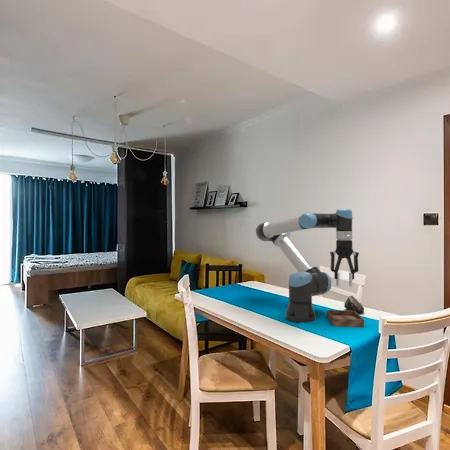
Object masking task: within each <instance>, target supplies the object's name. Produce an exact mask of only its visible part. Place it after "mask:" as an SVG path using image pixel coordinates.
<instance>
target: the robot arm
mask: <svg viewBox="0 0 450 450" xmlns="http://www.w3.org/2000/svg"><path fill="white" fill-rule="evenodd" d="M353 218H354V217H353V210H352V209H350V208H339V209H336V210H335V213H319V212H318V213H316V212H313V213H312V212H304V213H302V214H301V215H298V216H293V217H290V218H286V219H282V220H278V221H274V222H270V221H267V222H262V223H260V224H258V225H257V227H256V228H255V235H256V237H257V238H258V239H259V240H260V241H263V242H272V244H273V245H274V246H275V247H277V248H278V247H279V249H280V250H281V252H283V254H284V256H286V258H287V259H288V260H289V262H290V263H291V265H292V266H293V267H294V269H295V270H296V272H293V273H291V274H290V275H289V277H288V300H289V301H288V305H287V307H286V311H285V318H286V319H287V320H288V321H290V322H294V323H311V322H314V321H316V317H317V316H316V313H315V310H314V307H313V297H315V296H321V295H324V294H326V293H328V292H330V290H331V288H332V283H333V282H332V279H331V276H330V274H328V273H327V272H324V271H323V272H322V271H321V270H320V269H319V268H318V266H317V265H316V266H315V265H312V263H311V262H310V261H309V260H308V259H307V257H306V256H305V254H304V253H303V252H302V251H301V250H300V249H299V247H298V246H297V245H296V244H295V242H294V241H293V239H291V233H293V232H298V231H303V230H309V229H336V230H335V233H336V234H335V235H336V236H335V239H336V241H335V243H336V244H335V246H336V247H335V250H333V251H330V252H329V253H330V271H331V272H333V273H334V275H333V276H334V279H335V281H336V286H337V287H340V272H339V269H340V265H341V264H342V263H341V262H342V260H343V259H346V262H347V265H348V268H349V271H350V272H348V286H349V287H353V281H354V280H355V274H356V273H358V272H359V254H360V252H357V251H354V248H353V240H352V239H353ZM336 255H337V260H336V263H335V259H336V258H335V256H336ZM351 256H353V262H352V258H351Z"/></svg>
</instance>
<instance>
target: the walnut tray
mask: <svg viewBox="0 0 450 450" xmlns="http://www.w3.org/2000/svg"><path fill="white" fill-rule="evenodd" d="M326 318H327V319H328V321H329V322H330V324H331V325H332V326H333V327H347V328H365V319H364V318H363V317H362V316H361V315H360V314H359V312H358V311H357V310H355V311H347V310H346V309H344V310H342V309H337V310H336V309H326Z"/></svg>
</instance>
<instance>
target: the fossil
mask: <svg viewBox="0 0 450 450" xmlns="http://www.w3.org/2000/svg"><path fill="white" fill-rule="evenodd" d="M343 306H344V308H345V311H356V312H358V313H359V312H360V313H364V311H365V308H364V306H363V304H362V303H360V302H359V300H358V299H357V298H355V297H354V296H353V295H349V296H348V297H347V299H346V301H345V302H344V305H343Z"/></svg>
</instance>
